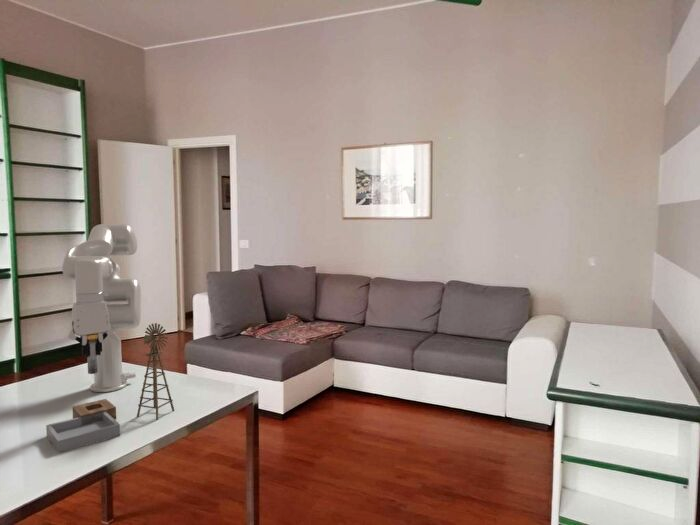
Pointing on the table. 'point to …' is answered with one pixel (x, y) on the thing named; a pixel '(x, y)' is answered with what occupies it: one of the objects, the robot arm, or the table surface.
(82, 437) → the tray
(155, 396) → the miniature windmill
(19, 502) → the table surface
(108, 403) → the socket block
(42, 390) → the table surface
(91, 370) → the pin
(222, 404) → the table surface
